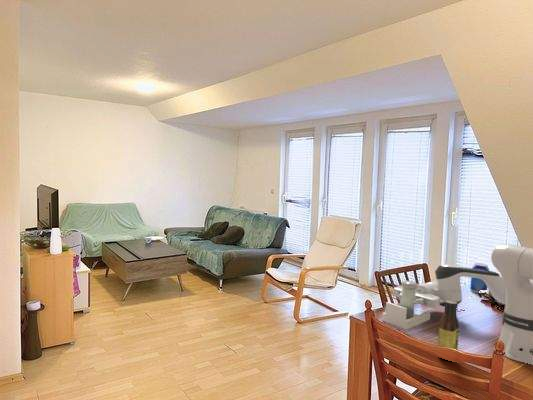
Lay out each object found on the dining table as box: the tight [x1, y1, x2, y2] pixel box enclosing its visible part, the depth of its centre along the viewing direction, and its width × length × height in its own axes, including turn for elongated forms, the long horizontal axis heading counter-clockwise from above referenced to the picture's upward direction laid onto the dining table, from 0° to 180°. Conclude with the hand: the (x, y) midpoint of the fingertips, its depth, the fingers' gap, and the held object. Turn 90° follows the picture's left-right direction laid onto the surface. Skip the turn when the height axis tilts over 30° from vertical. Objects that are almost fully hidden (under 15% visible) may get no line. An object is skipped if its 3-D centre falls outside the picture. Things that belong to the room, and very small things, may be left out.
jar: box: [400, 280, 418, 315], centre depth 169 cm, size 6×6×16 cm
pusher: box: [395, 303, 413, 320], centre depth 166 cm, size 8×4×6 cm, turn 41°
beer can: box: [469, 262, 490, 295], centre depth 219 cm, size 8×8×16 cm
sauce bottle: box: [437, 300, 460, 351], centre depth 135 cm, size 7×6×20 cm
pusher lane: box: [381, 301, 431, 331], centre depth 169 cm, size 11×20×8 cm, turn 131°
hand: (406, 299), depth 168 cm, fingers closed on jar, 6 cm apart
